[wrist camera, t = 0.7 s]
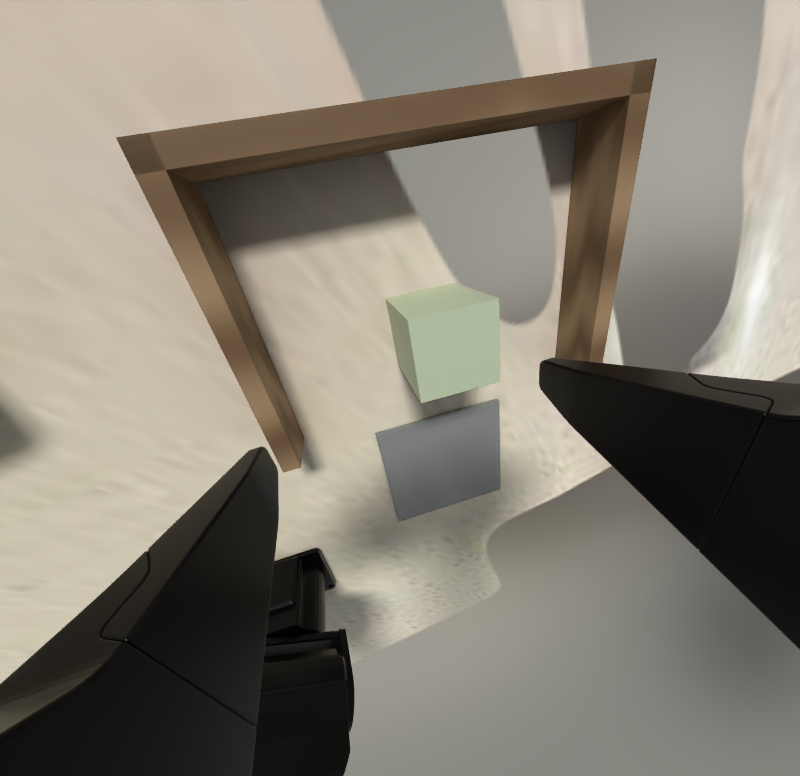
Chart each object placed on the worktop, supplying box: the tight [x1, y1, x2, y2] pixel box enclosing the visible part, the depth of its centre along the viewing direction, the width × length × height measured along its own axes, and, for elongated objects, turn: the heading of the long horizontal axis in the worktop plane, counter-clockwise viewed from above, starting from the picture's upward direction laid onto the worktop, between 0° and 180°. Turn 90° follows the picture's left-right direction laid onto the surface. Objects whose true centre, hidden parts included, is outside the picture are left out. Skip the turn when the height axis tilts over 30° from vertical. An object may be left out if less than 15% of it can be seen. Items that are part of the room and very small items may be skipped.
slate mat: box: [376, 399, 500, 521], centre depth 28 cm, size 11×11×1 cm
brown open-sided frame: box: [116, 59, 657, 472], centre depth 19 cm, size 18×24×4 cm
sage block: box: [386, 283, 500, 403], centre depth 19 cm, size 5×5×6 cm
